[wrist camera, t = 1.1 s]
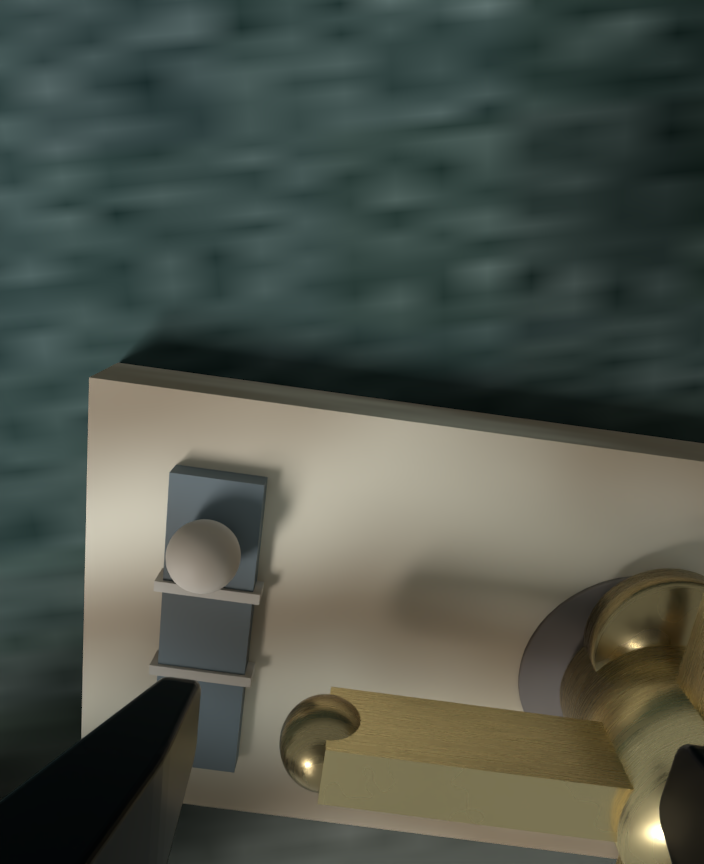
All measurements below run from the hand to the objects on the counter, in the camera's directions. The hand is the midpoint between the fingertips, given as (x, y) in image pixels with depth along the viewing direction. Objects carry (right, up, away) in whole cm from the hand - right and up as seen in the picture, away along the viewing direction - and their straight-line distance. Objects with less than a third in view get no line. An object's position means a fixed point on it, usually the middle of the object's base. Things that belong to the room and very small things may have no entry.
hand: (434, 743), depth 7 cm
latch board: (+4, -2, +13) cm, 14 cm away
